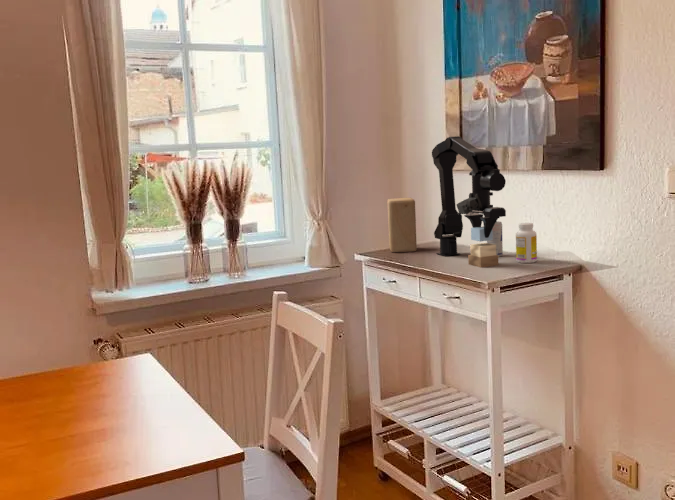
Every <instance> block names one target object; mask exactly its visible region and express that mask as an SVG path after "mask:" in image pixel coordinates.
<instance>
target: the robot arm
mask: <svg viewBox="0 0 675 500" xmlns="http://www.w3.org/2000/svg"><path fill="white" fill-rule="evenodd" d="M458 155H460V156H461V157H462V158H464V159H465V160H466V163H465V164H466V165H467V166H468V167H469V168H470V169H471V171H469V174H468V175H469V176H471V189H472V190H471V191H472V192H469V195H468V198H466V199H463V200H462V201H460V202H457V204H456V196H455V185H454V184H455V181H454V173H453V172H454V171H453V169H454V167H455V165H456V163H457V156H458ZM431 157H432V160H433V165H434V166H435V167H436V169H437V170H438V173H439V174H438V175H439V176H438V177H439V186H440V187H439V188H440V189H439V190H440V201H441V213H440V214H439V216H438V218H437V219H438V222H437V223H438V224H437V225H436V228H435V230H434V232H433V235H434V238H435V239H437V240H439V252H436V255H439V256H443V257H451V256H456V255H457V256H458V255H461V252H458V244H457V238H462V233H463V229H464V224H463V215H464V217H465V218H467V219H468V220H469V221H470V224H471V228H475V227H482V223H483V227H484V234H485V238H488V237H489V235H490V233H491V231H492V229H493V227H494V225H495V223H496V221H498V219H500V218H502V217H506V216H507V214H506V212H507V210H506V209H505V208H504V207H500V206H495V207H494V206H493V204H491V197H492V196H493V195H494V193H493V191H494V192H500V191H502V190H503V189H504V188H505V185H506V184H507V183H506V178H505V176H504V175H503V174H502V173H500V172H501V171H500V170H501V169H499V166H498V163H497V162H496V160H495V157H494V155H493V153H492V152H491V151H490V150H488V149H484V148H479V147H478V148H477V147H475V146H474V145H472V144H471V143H469V142H467V141H466V140H464V139H463V137H461V136H459V135H456V136H448V137H446V138H445V140H443V141H440V142H439V143H437V144H436V145H435V146H434V147H433V149H432V150H431Z"/></svg>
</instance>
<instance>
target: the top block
mask: <svg viewBox="0 0 675 500" xmlns="http://www.w3.org/2000/svg"><path fill="white" fill-rule="evenodd" d="M470 240H471V241H474V242H475V241H476V242H487V241H488V240H493V229H492V231H491V233H490V235H489V237H488V238H485V234H484V226H481V227H475V228H473V227H471V228H470Z"/></svg>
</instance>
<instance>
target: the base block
mask: <svg viewBox="0 0 675 500" xmlns="http://www.w3.org/2000/svg"><path fill="white" fill-rule="evenodd" d="M467 256H468V257H467V258H468V260H467V261H468V265H470V266H474V267H478V268H486V267H493V266H499V257H498V255H495V256H487V257H477V256H473V255H471V254H468V255H467Z"/></svg>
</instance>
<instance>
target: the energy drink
mask: <svg viewBox="0 0 675 500" xmlns="http://www.w3.org/2000/svg"><path fill="white" fill-rule="evenodd" d="M486 243H490V244H494V245H496V255H498V258H499V257H502V256H503V255H504V254H503V252H504V251H503V249H504V248H503V245H504V244H503V224H502V221H498V220H497V221H496V223H495V225H494V227H493V240H488V241H486Z"/></svg>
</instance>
